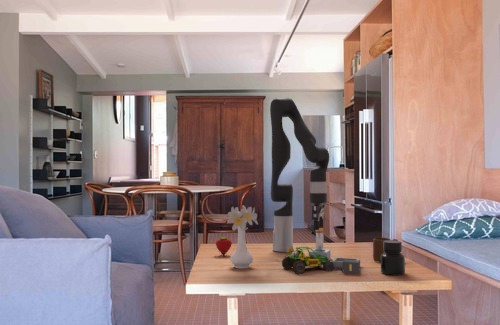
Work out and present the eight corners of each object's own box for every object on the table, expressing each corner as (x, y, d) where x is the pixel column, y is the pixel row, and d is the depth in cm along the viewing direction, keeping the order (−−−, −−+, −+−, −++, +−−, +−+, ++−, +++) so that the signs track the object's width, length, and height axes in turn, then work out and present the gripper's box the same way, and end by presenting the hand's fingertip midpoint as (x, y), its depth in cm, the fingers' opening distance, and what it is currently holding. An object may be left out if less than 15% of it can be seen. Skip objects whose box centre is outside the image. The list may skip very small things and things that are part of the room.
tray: (331, 268, 185) (331, 261, 185) (335, 264, 193) (335, 257, 193) (357, 270, 181) (356, 262, 181) (359, 266, 189) (359, 258, 190)
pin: (315, 260, 203) (315, 228, 203) (316, 258, 206) (316, 227, 206) (322, 260, 202) (322, 228, 202) (324, 259, 205) (323, 227, 205)
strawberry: (232, 255, 214) (232, 234, 215) (216, 256, 214) (215, 234, 214) (231, 253, 220) (231, 232, 221) (215, 254, 219) (215, 233, 220)
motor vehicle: (334, 271, 182) (333, 244, 182) (290, 275, 174) (290, 247, 175) (318, 265, 192) (318, 240, 193) (277, 269, 185) (276, 243, 185)
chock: (358, 274, 174) (358, 262, 174) (342, 273, 177) (342, 261, 177) (360, 272, 178) (360, 260, 178) (344, 271, 180) (344, 259, 180)
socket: (308, 260, 202) (308, 251, 202) (312, 257, 209) (312, 248, 209) (326, 261, 199) (326, 252, 199) (330, 258, 206) (330, 249, 206)
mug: (395, 258, 206) (395, 237, 207) (404, 261, 199) (403, 239, 199) (370, 259, 204) (370, 238, 204) (377, 262, 197) (377, 240, 197)
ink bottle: (405, 271, 179) (404, 240, 179) (407, 276, 170) (407, 243, 171) (379, 270, 181) (378, 239, 181) (380, 275, 173) (379, 243, 173)
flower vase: (226, 272, 178) (225, 207, 179) (227, 263, 197) (226, 204, 197) (259, 272, 179) (259, 207, 179) (257, 263, 197) (257, 204, 198)
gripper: (323, 192, 196) (323, 230, 196) (330, 191, 210) (330, 227, 209) (306, 192, 199) (306, 230, 199) (313, 191, 212) (314, 227, 212)
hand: (318, 228), depth 204 cm, fingers open, 8 cm apart
